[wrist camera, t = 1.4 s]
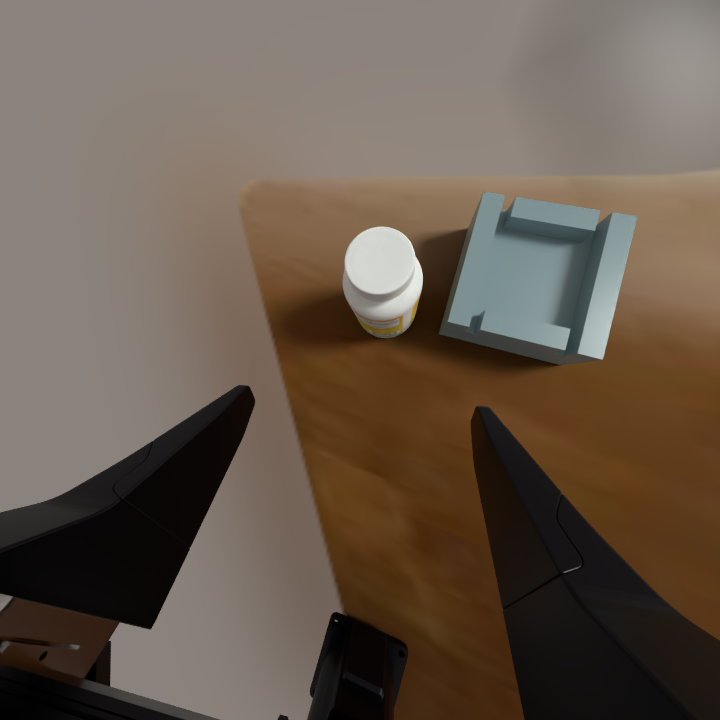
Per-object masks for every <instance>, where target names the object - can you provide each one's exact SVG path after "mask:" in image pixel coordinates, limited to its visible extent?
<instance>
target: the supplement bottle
mask: <svg viewBox="0 0 720 720" xmlns="http://www.w3.org/2000/svg"><path fill="white" fill-rule="evenodd" d="M422 284H423V274H422V269H421V266H420V263H419V261H418V259H417V258H416V256H415V252H414V249H413V246H412V244H411V242H410V241H409V240H408V238H407V237H406V236H405V235H404V234H402V233H401V232H399V231H397V230H395V229H393V228H389V227H375V228H370V229H368V230H366V231H364V232H362V233H360V234H359V235H358V236H357V237H356V238H355V239H354V240H353V241H352V242H351V244H350V245H349V247H348V249H347V252H346V255H345V271H344V275H343V290H344V294H345V297H346V299H347V301H348V303H349V305H350V307H351V309H352V310H353V312H354V314H355V315H356V317H357V319H358V321H359V323H360V324H361V325H362V327H363V328H364V329H365V330H366V331H367V332H368V333H370V334H372V335H374V336H376V337H380V338H391V337H395V336H398V335H400V334H402V333H403V332H405V331H406V330H407V329H408V328H409V327H410V325H411V324H412V322H413V320H414V318H415V314H416V310H417V306H418V302H419V298H420V295H421V291H422Z"/></svg>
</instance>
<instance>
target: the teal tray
mask: <svg viewBox="0 0 720 720" xmlns="http://www.w3.org/2000/svg"><path fill="white" fill-rule="evenodd" d="M504 197H505V195H500V194H494V193H488V192H483V195H482V197H481V199H480V202H479V204H478V206H477V209H476V211H475V213H474V216H473V218H472V220H471V223H470V225H469V227H468V230H467V234H466V237H465V241H464V245H463V248H462V252H461V255H460V259H459V262H458V266H457V270H456V273H455V277H454V280H453V284H452V287H451V291H450V295H449V298H448V302H447V305H446V309H445V313H444V316H443V320H442V323H441V327H440V330H439V334H440V335H444V336H448V337H452V338H456V339H460V340H464V341H468V342H471V343H475V344H479V345H483V346H487V347H491V348H495V349H499V350H503V351H507V352H511V353H515V354H519V355H523V356H527V357H531V358H534V359H538V360H542V361H546V362H550V363H554V364H558V365H567V364H574V363H581V362H589V361H596V360H603V356H604V352H605V348H606V344H607V340H608V336H609V332H610V327H611V323H612V319H613V315H614V311H615V307H616V303H617V299H618V294H619V290H620V286H621V282H622V278H623V274H624V270H625V265H626V261H627V257H628V253H629V249H630V245H631V241H632V236H633V232H634V228H635V224H636V220H637V216H632V215H626V214H620V213H613V212H612V213H611V214H610V215H609V216H607V217H606V218H605V219H604V220H603V221H601V222H600V223H599V224H598V225H597V222H598V218H599V214H600V210H595V209H588V208H582V207H576V206H569V205H563V204H557V203H551V202H544V201H538V200H532V199H526V198H519V197H516V198H515V199H514V201H513V203H512V204H511V206H510V208H509V209H508V211H507V210H501V208H502V205H503V201H504Z"/></svg>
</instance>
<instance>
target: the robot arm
mask: <svg viewBox="0 0 720 720" xmlns="http://www.w3.org/2000/svg"><path fill="white" fill-rule="evenodd" d="M254 405H255V398H254V396H253V393H252V391H251V389H250V387H249V386H244V385H238V386H236V387H235V388H233V389H232V390H230V391H229V392H227V393H226V394H224V395H222V396H221V397H219V398H218V399H216V400H215V401H213V402H212V403H210V404H209V405H207V406H206V407H204V408H203V409H201V410H199V411H198V412H196V413H195V414H193V415H192V416H191V417H189V418H187V419H186V420H184V421H183V422H181V423H180V424H178V425H176V426H175V427H174V428H172V429H170V430H169V431H167V432H166V433H164V434H163V435H161V436H159V437H158V438H157V439H155V440H154V441H152V442H150V443H149V444H147V445H146V446H144V447H142V448H141V449H139V450H138V451H136V452H135V453H133V454H132V455H130V456H128V457H127V458H125V459H123V460H122V461H120V462H118V463H116V464H115V465H113V466H111V467H110V468H108V469H106V470H105V471H103V472H101V473H99V474H97V475H96V476H94V477H92V478H91V479H89V480H87V481H85V482H84V483H82V484H80V485H78V486H77V487H75V488H73V489H71V490H70V491H68V492H66V493H64V494H62V495H60V496H58V497H55V498H53V499H50V500H47V501H44V502H41V503H37V504H34V505H30V506H25V507H21V508H17V509H13V510H9V511H5V512H1V513H0V720H219V719H215V718H212V717H209V716H205V715H202V714H199V713H195V712H192V711H189V710H186V709H182V708H179V707H176V706H172V705H169V704H166V703H162V702H159V701H156V700H153V699H149V698H146V697H143V696H139V695H136V694H133V693H129V692H126V691H122V690H119V689H116V688H113V687H110V658H111V657H110V656H111V654H110V653H111V641H108V640H109V639H110V637H111V636H112V634H113V632H114V631H115V629H116V627H117V626H118V624H119V623H120V622H121V623H125V624H129V625H133V626H137V627H141V628H146V629H151V628H152V626H153V624H154V623H155V621H156V619H157V617H158V614H159V612H160V610H161V608H162V606H163V604H164V602H165V600H166V598H167V596H168V593H169V591H170V589H171V587H172V585H173V583H174V581H175V579H176V577H177V575H178V573H179V571H180V568H181V566H182V564H183V562H184V560H185V558H186V556H187V554H188V552H189V550H190V547H191V545H192V543H193V541H194V539H195V537H196V535H197V533H198V530H199V528H200V526H201V524H202V522H203V520H204V518H205V516H206V514H207V512H208V510H209V507H210V505H211V503H212V501H213V499H214V497H215V495H216V493H217V490H218V488H219V486H220V484H221V482H222V480H223V478H224V476H225V474H226V472H227V470H228V467H229V466H230V463H231V461H232V459H233V457H234V455H235V453H236V451H237V449H238V447H239V445H240V443H241V440H242V438H243V436H244V433H245V430H246V427H247V425H248V422H249V419H250V416H251V413H252V411H253V407H254ZM471 435H472V448H473V460H474V468H475V473H476V478H477V483H478V488H479V493H480V498H481V503H482V508H483V513H484V518H485V523H486V528H487V533H488V538H489V543H490V548H491V553H492V558H493V563H494V568H495V573H496V578H497V583H498V588H499V593H500V598H501V603H502V608H503V609H504V610H503V614H504V619H505V624H506V629H507V634H508V639H509V644H510V649H511V654H512V659H513V664H514V669H515V674H516V679H517V684H518V689H519V694H520V699H521V704H522V709H523V713H524V718H525V720H720V641H719V640H718V639H716V638H715V637H713V636H712V635H710V634H709V633H707V632H705V631H704V630H702V629H701V628H699V627H698V626H696V625H695V624H693V623H692V622H691V621H689V620H688V619H687V618H685V617H684V616H682V615H681V614H680V613H679V612H678V611H676V610H675V609H674V608H673V607H671V606H670V605H669V604H668V603H667V602H666V601H665V600H664V599H662V598H661V597H660V596H659V595H658V594H657V593H656V592H655V591H654V590H653V589H652V588H651V587H650V586H649V585H648V584H647V583H646V582H645V581H644V580H643V579H642V578H641V577H640V576H639V575H638V574H637V573H636V572H635V571H634V570H633V569H632V567H631V566H630V565H629V564H628V563H627V562H626V561H625V560H624V559H623V558H622V557H621V556H620V555H619V554H618V553H617V552H616V551H615V550H614V549H613V548H612V547H611V546H610V545H609V544H608V543H607V542H606V541H605V540H604V539H603V538H602V537H601V536H600V535H599V534H598V533H597V532H596V531H595V529H594V528H593V527H592V526H591V525H590V524H589V523H588V522H587V521H586V520H585V519H584V518H583V516H582V515H581V514H580V513H579V512H578V511H577V510H576V509H575V507H574V506H573V505H572V504H571V503H570V502H569V500H568V499H567V498H566V497H565V496H564V495H563V494H562V493H561V491H560V490H559V489H558V488H557V486H556V485H555V484H554V483H553V482H552V481H551V479H550V478H549V477H548V476H547V475H546V474H545V472H544V471H543V470H542V469H541V468H540V466H539V465H538V464H537V463H536V462H535V461H534V459H533V458H532V457H531V456H530V455H529V454H528V452H527V451H526V450H525V449H524V448H523V447H522V445H521V444H520V443H519V442H518V441H517V439H516V438H515V437H514V436H513V435H512V434H511V432H510V431H509V430H508V429H507V428H506V427H505V425H504V424H503V423H502V422H501V421H500V420H499V418H498V417H497V416H496V415H495V414H494V412H493V411H492V410H491V409H490V408H489V407H486V406H477V407H476V408H475V411H474V413H473V416H472V419H471ZM561 494H562V495H561ZM334 620H338V622H335V621H334ZM400 650H402V651H404V652H400ZM407 657H408V648H407V646H406V644H405V643H403V642H401V641H399V640H397V639H395V638H392V637H390V636H388V635H386V634H384V633H382V632H379V631H377V630H375V629H373V628H371V627H368V626H366V625H364V624H362V623H360V622H358V621H355V620H353V619H351V618H349V617H347V616H345V615H342V614H340V613H338V612H335V613H333V614H332V615H331V618H330V621H329V625H328V628H327V632H326V635H325V639H324V642H323V646H322V649H321V653H320V656H319V660H318V664H317V667H316V671H315V674H314V677H313V681H312V684H311V688H310V695H311V697H312V698H313V701H312V704H311V708H310V711H309V715H308V719H307V720H394V706H395V702H396V699H397V695H398V691H399V687H400V684H401V680H402V676H403V672H404V669H405V665H406V661H407ZM278 720H288V717H287V716H283V715H280V716H279V718H278Z"/></svg>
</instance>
